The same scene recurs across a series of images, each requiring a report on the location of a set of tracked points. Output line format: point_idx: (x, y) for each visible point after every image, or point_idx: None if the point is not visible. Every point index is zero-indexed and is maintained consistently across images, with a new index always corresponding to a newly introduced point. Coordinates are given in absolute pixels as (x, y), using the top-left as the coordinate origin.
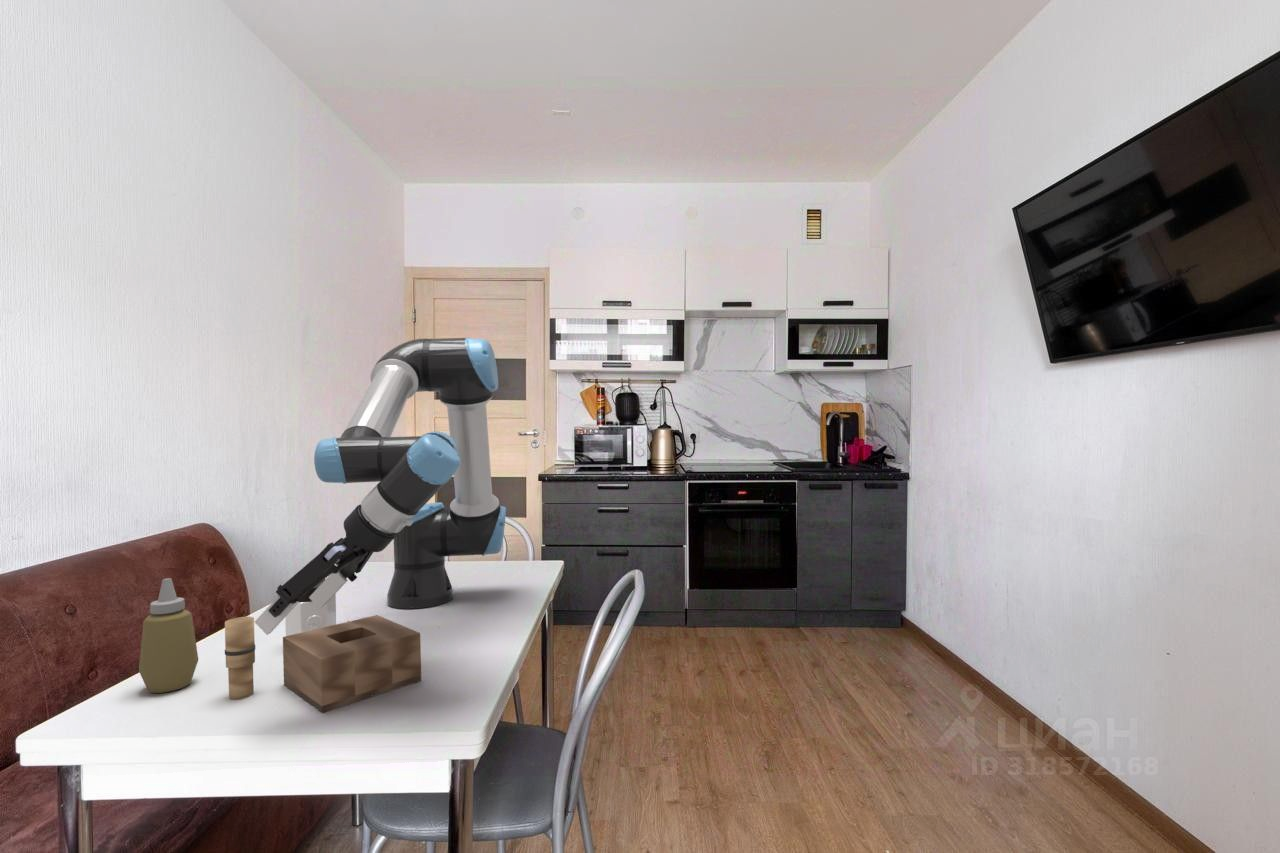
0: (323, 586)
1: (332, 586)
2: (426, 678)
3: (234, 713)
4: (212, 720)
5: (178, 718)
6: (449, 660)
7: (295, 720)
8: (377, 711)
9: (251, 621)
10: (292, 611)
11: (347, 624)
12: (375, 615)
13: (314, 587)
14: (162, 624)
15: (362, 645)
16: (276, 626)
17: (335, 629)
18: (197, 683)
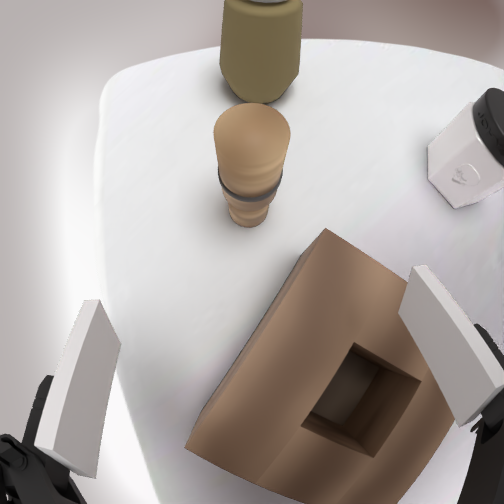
0: (445, 329)
1: (448, 368)
2: None
3: (177, 257)
4: (150, 241)
5: (154, 182)
6: (430, 460)
7: (168, 384)
8: (224, 485)
9: (257, 165)
10: (462, 127)
11: None
12: None
13: None
14: (230, 13)
15: (291, 480)
16: (114, 369)
17: (399, 328)
18: (278, 108)
